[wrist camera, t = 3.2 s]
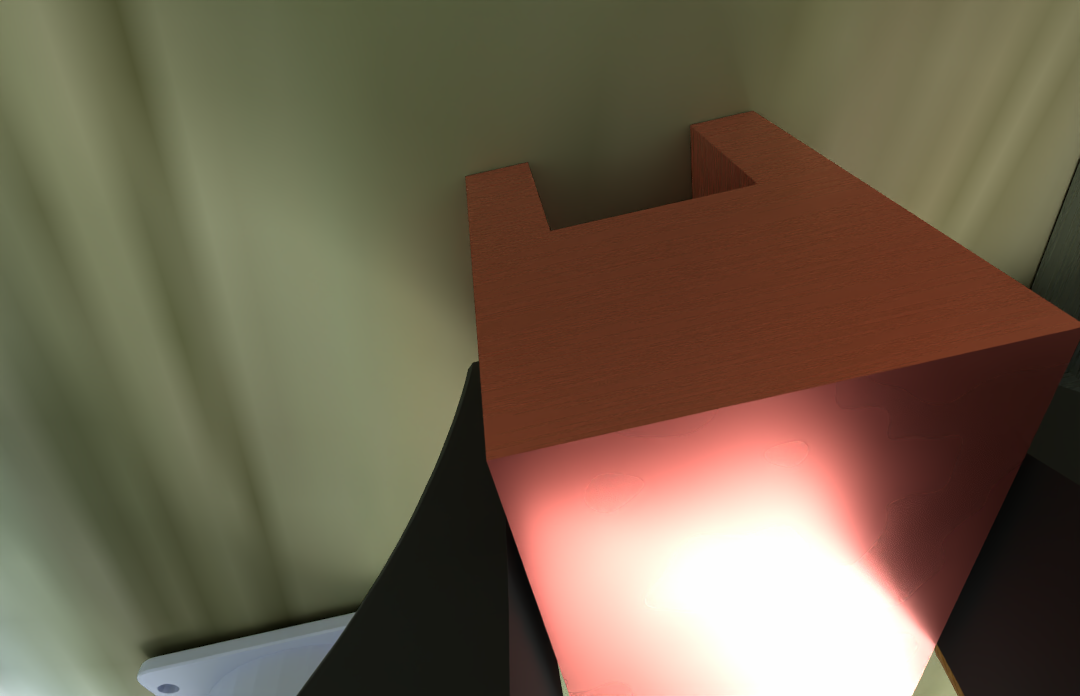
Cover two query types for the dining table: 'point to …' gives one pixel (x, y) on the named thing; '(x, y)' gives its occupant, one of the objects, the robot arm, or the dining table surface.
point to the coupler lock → (750, 421)
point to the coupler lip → (1064, 271)
